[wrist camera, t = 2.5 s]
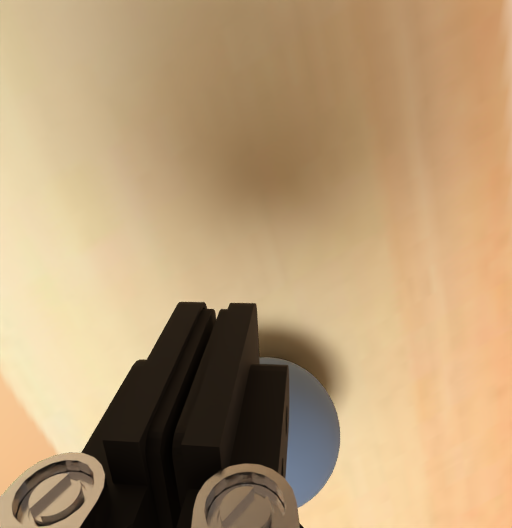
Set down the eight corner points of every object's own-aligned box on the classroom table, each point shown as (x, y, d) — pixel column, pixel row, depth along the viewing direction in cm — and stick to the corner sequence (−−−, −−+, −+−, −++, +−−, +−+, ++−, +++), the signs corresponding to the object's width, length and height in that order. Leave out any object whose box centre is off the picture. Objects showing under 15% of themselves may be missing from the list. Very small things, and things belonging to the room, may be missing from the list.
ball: (203, 327, 20) (163, 430, 15) (339, 331, 20) (347, 441, 14) (215, 425, 23) (184, 543, 18) (335, 432, 22) (341, 557, 17)
